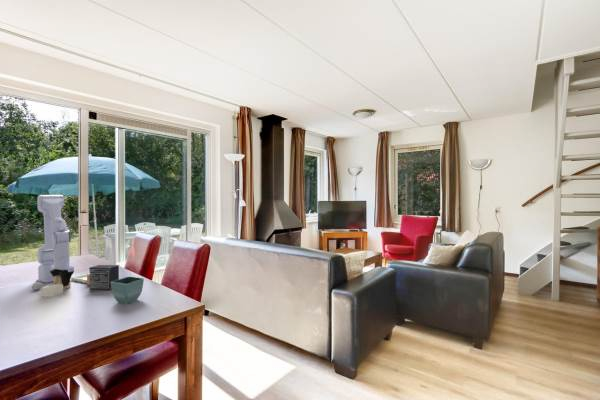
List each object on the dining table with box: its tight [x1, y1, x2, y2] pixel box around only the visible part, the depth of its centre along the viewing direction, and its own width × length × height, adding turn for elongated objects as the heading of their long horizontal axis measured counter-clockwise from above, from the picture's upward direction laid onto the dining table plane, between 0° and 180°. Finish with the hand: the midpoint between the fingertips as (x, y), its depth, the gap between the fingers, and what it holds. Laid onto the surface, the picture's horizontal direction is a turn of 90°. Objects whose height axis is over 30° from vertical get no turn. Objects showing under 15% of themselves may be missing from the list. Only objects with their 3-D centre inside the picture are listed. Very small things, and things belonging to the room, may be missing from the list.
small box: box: [89, 264, 120, 291], centre depth 140 cm, size 11×6×10 cm, turn 84°
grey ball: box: [31, 281, 43, 291], centre depth 137 cm, size 4×4×4 cm
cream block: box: [41, 283, 64, 298], centre depth 130 cm, size 5×5×4 cm
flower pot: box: [111, 276, 145, 305], centre depth 122 cm, size 9×9×9 cm
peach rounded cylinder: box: [86, 272, 90, 286], centre depth 146 cm, size 4×4×5 cm
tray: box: [70, 272, 90, 284], centre depth 154 cm, size 12×12×2 cm
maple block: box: [53, 275, 72, 290], centre depth 139 cm, size 4×4×6 cm
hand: (62, 285), depth 139 cm, fingers closed on maple block, 4 cm apart
